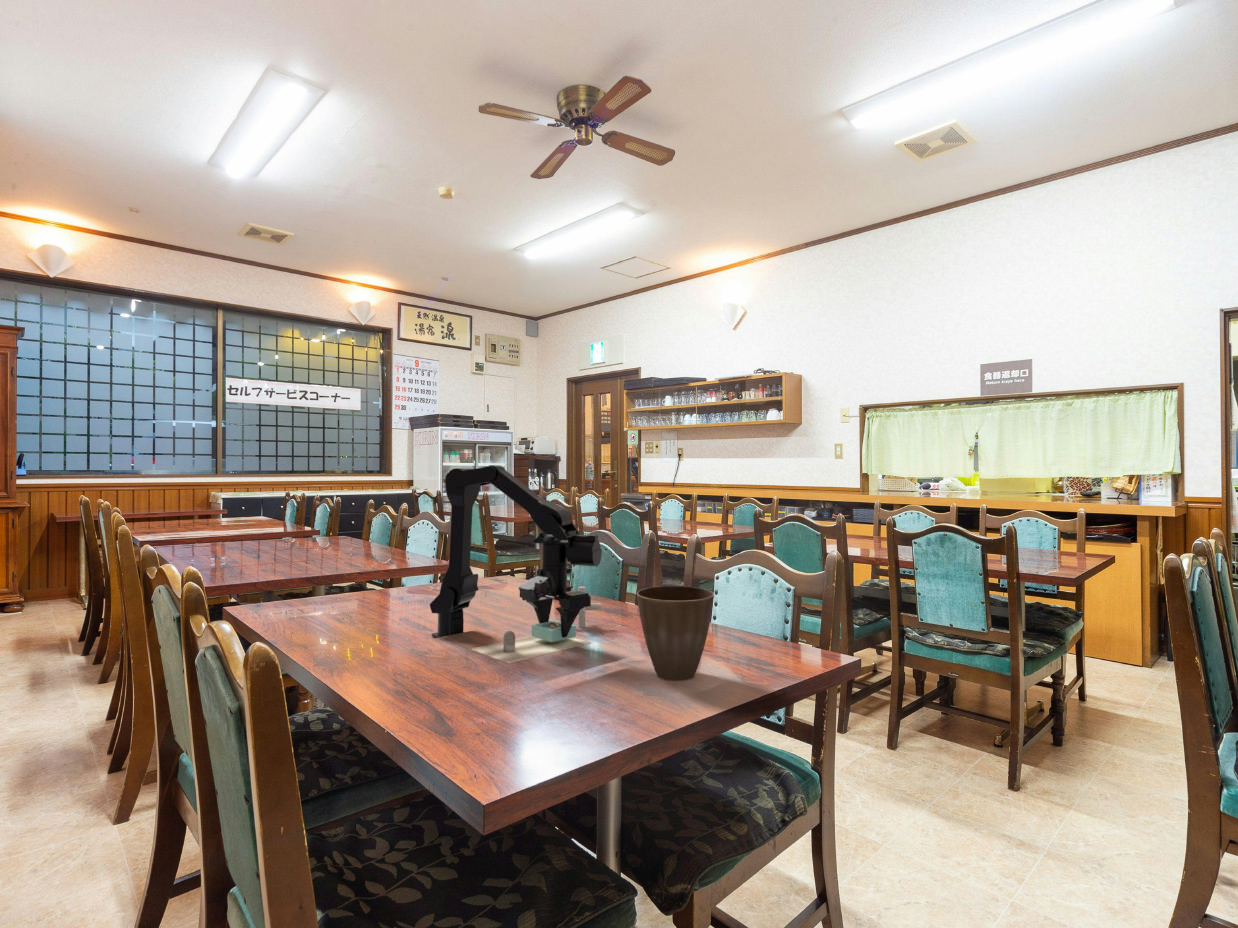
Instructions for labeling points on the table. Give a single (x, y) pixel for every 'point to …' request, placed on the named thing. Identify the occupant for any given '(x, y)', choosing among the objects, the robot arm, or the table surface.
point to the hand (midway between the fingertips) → (553, 633)
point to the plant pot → (675, 628)
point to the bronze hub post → (554, 626)
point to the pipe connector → (582, 612)
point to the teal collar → (551, 632)
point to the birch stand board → (526, 647)
